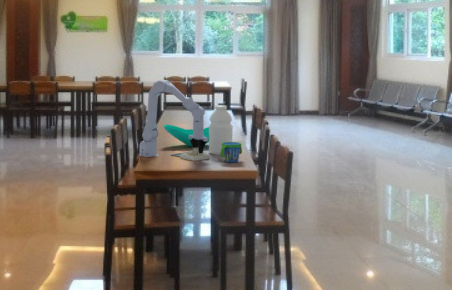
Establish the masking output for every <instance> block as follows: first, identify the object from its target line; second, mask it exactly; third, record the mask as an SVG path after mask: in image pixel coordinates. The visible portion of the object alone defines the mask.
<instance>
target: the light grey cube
mask: <svg viewBox="0 0 452 290" xmlns="http://www.w3.org/2000/svg"><path fill="white" fill-rule="evenodd" d="M193 151H195V152H197V156H198V155H203V153H204V149H203V153H200V154H199V150H198V147H196V148H193Z"/></svg>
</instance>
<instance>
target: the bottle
mask: <svg viewBox="0 0 452 290" xmlns="http://www.w3.org/2000/svg"><path fill="white" fill-rule="evenodd" d="M227 108H228V107H227V105H220V104H219V105H215V107H214V109H215V110H214V111H213V112H212V113H211V115H210V118H209V121H210V124H209V125H208V127H209V142H208V154H210V155H221V149H222V143H224V142H233V128H234V127H233V125H232V124H231V122H233V118H232V115H231V114H230V113H229V111H228V110H227Z"/></svg>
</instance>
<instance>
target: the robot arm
mask: <svg viewBox="0 0 452 290" xmlns="http://www.w3.org/2000/svg"><path fill="white" fill-rule="evenodd" d="M163 93H169V94H171V95H173V96H174V97H176V98H177V100H179V101H181V103H182V106H183V108H185V109H187V111H189V113H191V115H192V117H193V123H192V129H193V135H189V139H192V140H190V142H191V144H192V147H193V148H196V147H198V150H199V154H200V153H204V151H203V149H204V148H205V146H206V145H207V143H206V142H207V141H208V138H207V137H205V136H203V131H204V128H205V126H204V125H205V123H204V121H205V120H204V115H205V114H206V110H205V108H204V107H203V106H200V104H199V103H197V102H195V101H194V98H193V97H186V96H185V95H184V94H183V93H182V92H181V91H180V89H178V88H177V87H176V86H175V85H174V84H173V83H171V82H170V81H169V80H167V79H163V80H156V82H154V83H153V84H152V87H150V90H149V91H148V99H147V114H146V124H145V126H144V127H143V128H144V129H143V131H142V135H141V136H142V139H143V140H142V141H140V143H139V154H138V156H140V157H144V158H149V157H151V158H152V157H157V156H159V157H160V156H161V155H160V154H158V144H157V143H158V139H157V138H158V137H159V130H158V125H157V115H158V101H159V96H161V95H162V94H163ZM192 147H191V148H192Z"/></svg>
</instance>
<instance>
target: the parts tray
mask: <svg viewBox="0 0 452 290" xmlns="http://www.w3.org/2000/svg"><path fill="white" fill-rule="evenodd" d="M182 153H187V151H183V152H177V153H176V152H175V153H171V154H170V156H172V157H177V158H181V154H182ZM204 153H205V154H208V153H207V152H204Z"/></svg>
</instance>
